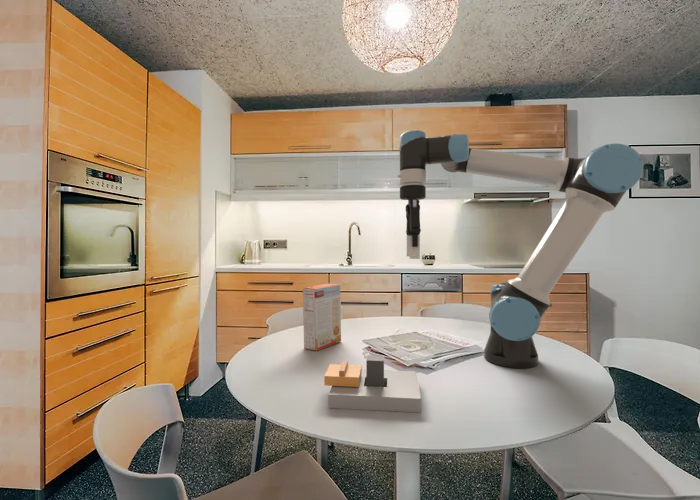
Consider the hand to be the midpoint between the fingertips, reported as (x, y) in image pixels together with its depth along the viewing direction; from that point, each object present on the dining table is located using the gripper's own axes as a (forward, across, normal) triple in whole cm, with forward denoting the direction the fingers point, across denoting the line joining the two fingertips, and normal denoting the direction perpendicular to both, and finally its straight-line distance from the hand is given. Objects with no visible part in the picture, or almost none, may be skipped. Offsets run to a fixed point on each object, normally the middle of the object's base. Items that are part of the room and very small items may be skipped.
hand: (412, 257), depth 108 cm
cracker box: (+31, -15, -30) cm, 46 cm away
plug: (+31, +24, -11) cm, 41 cm away
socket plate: (+31, +23, -11) cm, 40 cm away
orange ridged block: (+28, +23, -18) cm, 41 cm away
